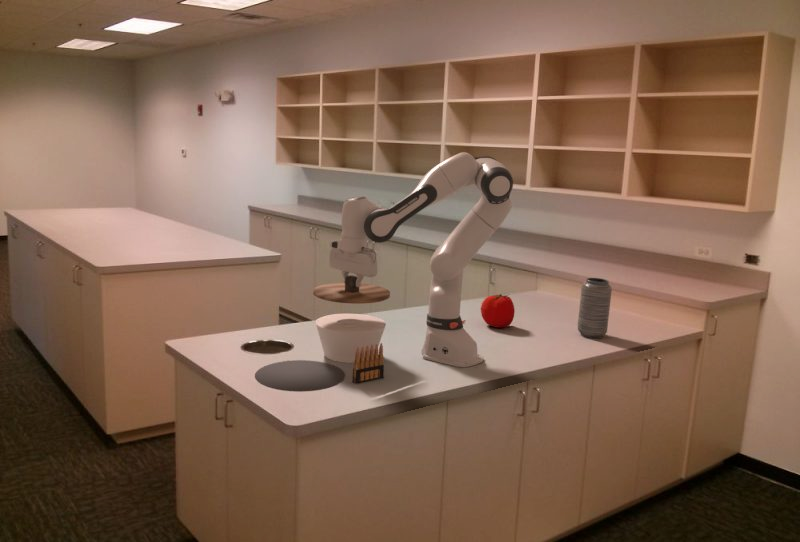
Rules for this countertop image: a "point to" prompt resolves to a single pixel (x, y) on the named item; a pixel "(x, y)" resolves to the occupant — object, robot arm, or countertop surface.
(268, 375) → the mat
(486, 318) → the tomato
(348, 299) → the lid
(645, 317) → the countertop surface
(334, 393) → the countertop surface
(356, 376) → the ammunition clip
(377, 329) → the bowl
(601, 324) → the vase
